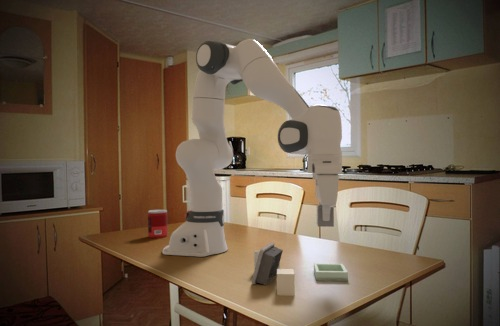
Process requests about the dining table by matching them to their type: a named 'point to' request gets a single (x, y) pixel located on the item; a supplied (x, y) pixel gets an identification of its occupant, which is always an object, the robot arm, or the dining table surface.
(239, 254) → the dining table surface
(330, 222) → the grey part
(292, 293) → the beige part
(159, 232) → the canned food
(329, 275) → the tray
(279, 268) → the label plate
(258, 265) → the electrical switch
